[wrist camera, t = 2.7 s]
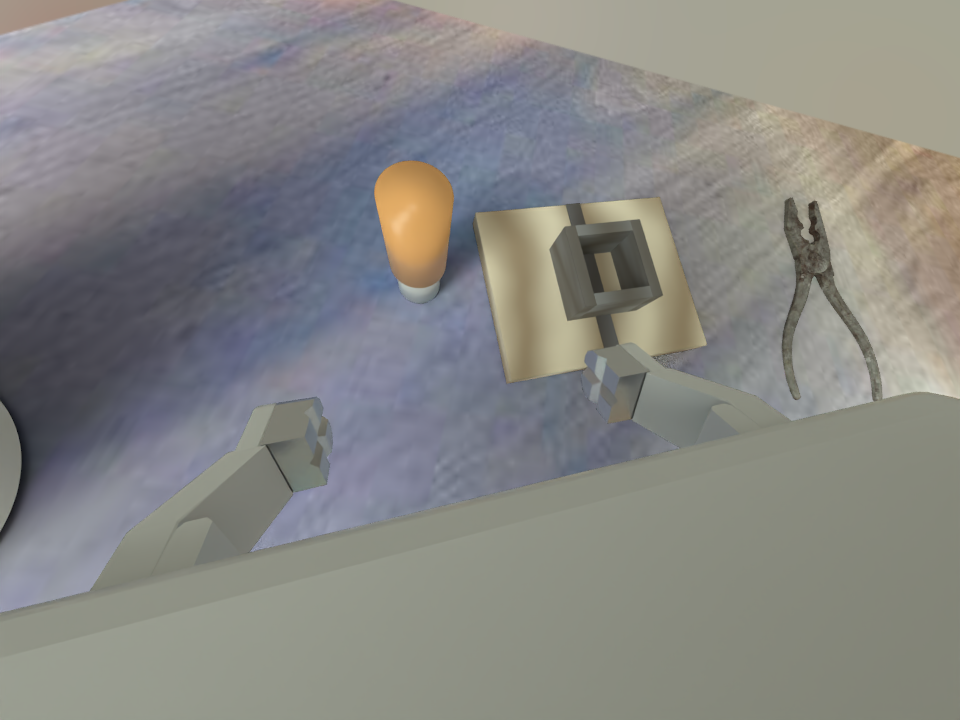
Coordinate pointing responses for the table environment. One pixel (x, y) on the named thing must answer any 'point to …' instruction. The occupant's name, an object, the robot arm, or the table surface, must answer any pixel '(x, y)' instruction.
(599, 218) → the cream rectangular base board
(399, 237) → the orange rounded handle
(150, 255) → the table surface
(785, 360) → the pliers
